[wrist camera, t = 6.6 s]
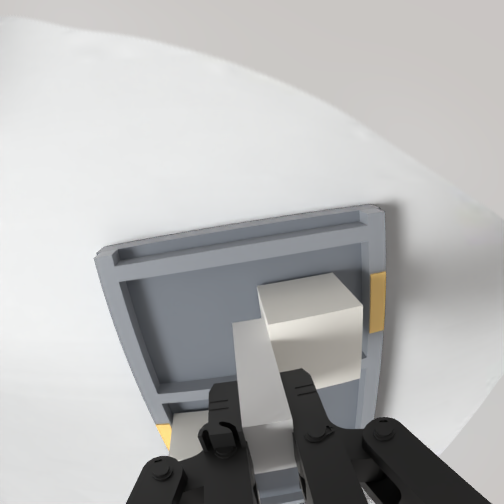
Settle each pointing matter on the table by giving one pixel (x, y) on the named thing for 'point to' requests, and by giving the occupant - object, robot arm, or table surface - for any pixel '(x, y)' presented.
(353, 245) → the gray divided tray
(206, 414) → the white cube
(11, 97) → the table surface
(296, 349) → the white cube
